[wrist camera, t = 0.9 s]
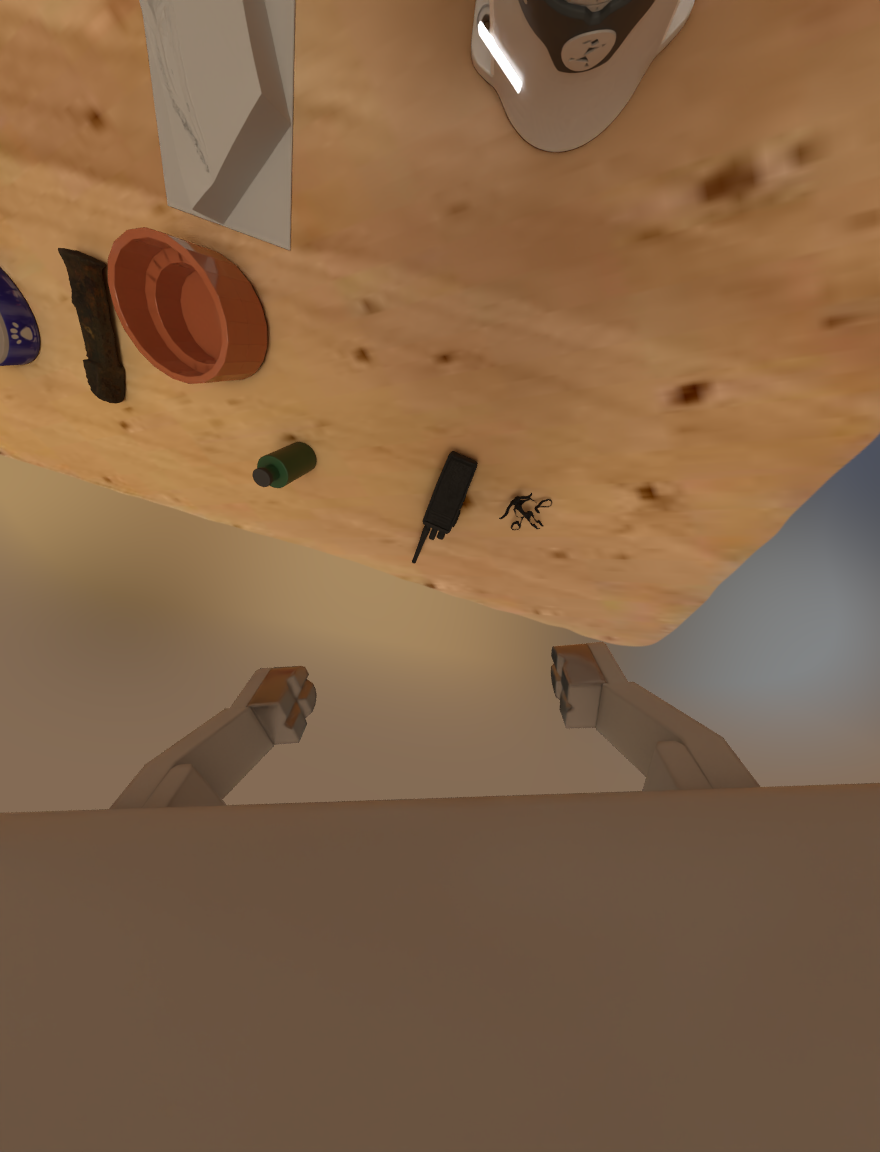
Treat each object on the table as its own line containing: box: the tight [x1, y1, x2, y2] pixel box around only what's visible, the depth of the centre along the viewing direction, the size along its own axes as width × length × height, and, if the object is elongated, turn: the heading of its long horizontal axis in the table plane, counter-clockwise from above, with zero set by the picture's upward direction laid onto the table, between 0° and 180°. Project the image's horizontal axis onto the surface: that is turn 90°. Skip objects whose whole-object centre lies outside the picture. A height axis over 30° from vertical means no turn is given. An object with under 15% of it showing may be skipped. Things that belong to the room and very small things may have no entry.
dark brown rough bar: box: [58, 248, 125, 403], centre depth 49 cm, size 19×4×5 cm, turn 158°
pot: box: [108, 227, 267, 384], centre depth 44 cm, size 15×15×9 cm
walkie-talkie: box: [412, 451, 478, 563], centre depth 55 cm, size 6×6×20 cm
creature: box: [499, 493, 552, 530], centre depth 53 cm, size 8×5×8 cm
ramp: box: [139, 0, 295, 250], centre depth 32 cm, size 28×16×5 cm, turn 163°
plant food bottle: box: [253, 442, 316, 488], centre depth 52 cm, size 5×5×12 cm
